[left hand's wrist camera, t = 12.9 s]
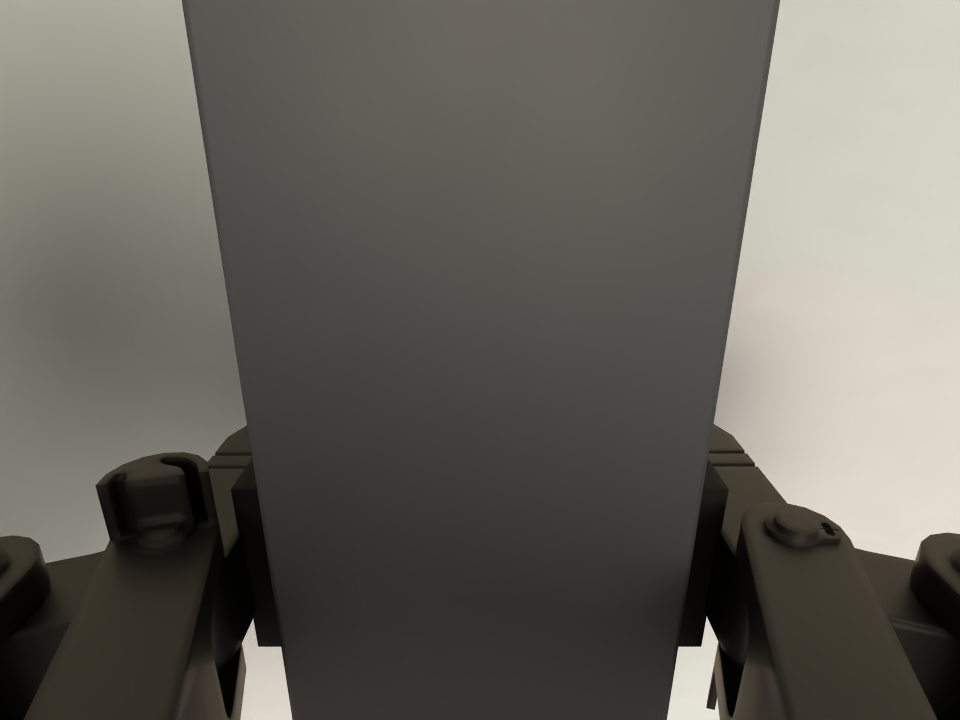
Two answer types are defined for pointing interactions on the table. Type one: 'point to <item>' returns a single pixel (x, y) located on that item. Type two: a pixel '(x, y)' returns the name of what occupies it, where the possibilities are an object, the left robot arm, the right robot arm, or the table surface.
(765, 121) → the table surface
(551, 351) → the beam
